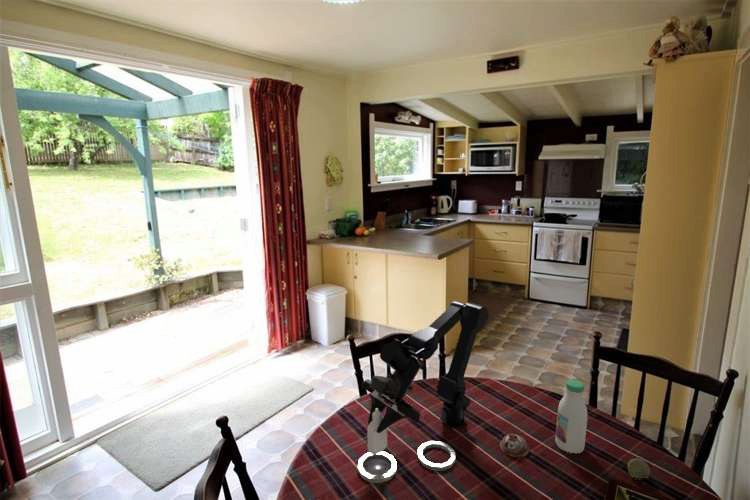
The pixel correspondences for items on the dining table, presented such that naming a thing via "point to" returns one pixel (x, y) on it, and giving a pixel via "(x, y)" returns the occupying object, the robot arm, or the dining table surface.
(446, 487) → the dining table surface
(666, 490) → the dining table surface
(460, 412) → the robot arm
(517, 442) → the pastry
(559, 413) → the milk bottle
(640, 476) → the lime
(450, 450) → the collar
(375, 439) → the eye dropper bottle
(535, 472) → the dining table surface
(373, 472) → the collar
